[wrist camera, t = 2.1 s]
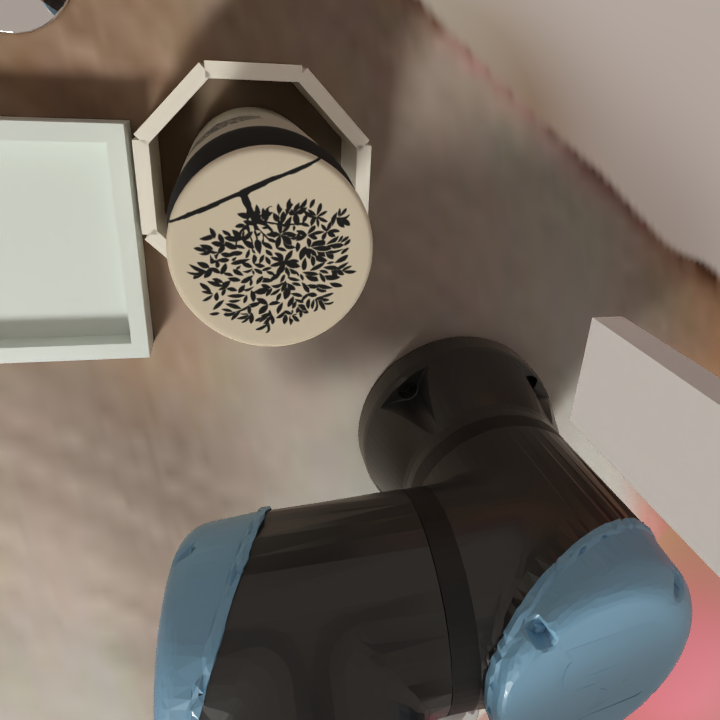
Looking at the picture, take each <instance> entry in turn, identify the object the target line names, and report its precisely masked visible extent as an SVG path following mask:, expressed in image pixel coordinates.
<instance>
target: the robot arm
mask: <svg viewBox="0 0 720 720" xmlns="http://www.w3.org/2000/svg"><path fill="white" fill-rule="evenodd" d="M570 423H571V424H572V425H573V426H574V427H575V428H576V429H577V430H578V431H579V432H580V433H581V434H582V435H583V436H584V437H585V438H586V439H587V440H588V441H589V442H590V443H591V444H592V445H593V446H594V447H595V449H596V450H597V451H598V452H599V453H600V454H601V455H602V456H603V457H604V458H605V459H606V460H607V461H608V462H609V463H610V464H611V465H612V466H613V467H614V468H615V469H616V470H617V471H618V472H619V473H620V474H621V476H622V477H623V478H624V479H625V480H626V481H627V482H628V483H629V484H630V485H631V486H632V487H633V488H634V489H635V490H636V491H637V492H638V493H639V494H640V495H641V496H642V497H643V498H644V499H645V500H646V502H647V503H648V504H649V505H650V506H651V507H652V508H653V509H654V510H655V511H656V512H657V513H658V514H659V515H660V516H661V517H662V518H663V519H664V520H665V521H666V522H667V523H668V524H669V525H670V526H671V528H672V529H673V530H675V532H676V533H677V534H678V535H679V536H680V537H681V538H682V539H683V540H684V541H685V542H686V543H687V544H688V545H689V546H690V547H691V548H692V549H693V550H694V551H695V552H696V553H697V554H698V556H699V557H700V558H701V559H702V560H703V561H704V562H705V563H706V564H707V565H708V566H709V567H710V568H711V569H712V570H713V571H714V572H715V573H716V574H717V575H718V576H719V577H720V378H719V377H717V376H716V375H714V374H713V373H711V372H709V371H708V370H706V369H705V368H703V367H702V366H700V365H698V364H697V363H695V362H694V361H692V360H691V359H689V358H687V357H686V356H684V355H683V354H681V353H680V352H678V351H676V350H675V349H673V348H672V347H670V346H669V345H667V344H665V343H664V342H662V341H661V340H659V339H658V338H656V337H654V336H653V335H651V334H650V333H648V332H647V331H645V330H643V329H642V328H640V327H639V326H637V325H636V324H634V323H632V322H631V321H629V320H628V319H626V318H625V317H623V316H616V317H592V321H591V326H590V330H589V335H588V339H587V344H586V349H585V353H584V358H583V362H582V367H581V371H580V376H579V380H578V385H577V389H576V394H575V399H574V403H573V408H572V412H571V417H570ZM358 437H359V446H360V450H361V454H362V457H363V460H364V463H365V465H366V468H367V471H368V473H369V475H370V477H371V479H372V481H373V483H374V484H375V486H376V487H377V488H378V490H379V491H380V492H379V493H373V494H367V495H362V496H356V497H350V498H344V499H338V500H332V501H326V502H320V503H314V504H307V505H301V506H294V507H288V508H281V509H274V510H272V509H271V507H270V506H267V507H262V508H260V509H259V510H258V511H257V512H254V513H249V514H245V515H240V516H235V517H231V518H226V519H221V520H217V521H212V522H209V523H206V524H203V525H201V526H199V527H197V528H196V529H194V530H193V531H192V532H191V533H190V534H189V535H188V536H187V537H186V538H185V539H184V541H183V542H182V544H181V545H180V547H179V549H178V551H177V553H176V555H175V557H174V560H173V563H172V566H171V569H170V572H169V576H168V580H167V584H166V588H165V593H164V598H163V603H162V609H161V616H160V622H159V630H158V639H157V648H156V660H155V677H154V720H437V719H440V718H444V717H447V716H451V715H455V714H460V713H464V712H469V711H474V710H479V709H486V712H487V714H488V717H489V719H490V720H623V719H625V718H626V717H627V716H629V715H630V714H631V713H632V712H634V711H635V710H636V709H637V708H639V707H640V706H641V705H642V704H643V703H644V702H645V701H646V700H647V699H648V698H649V697H650V696H651V694H653V693H654V692H655V691H656V690H657V689H658V688H659V687H660V685H661V684H662V683H663V682H664V681H665V679H666V678H667V677H668V675H669V674H670V673H671V671H672V670H673V668H674V666H675V665H676V663H677V662H678V660H679V658H680V656H681V654H682V652H683V649H684V647H685V645H686V642H687V639H688V636H689V633H690V629H691V622H692V603H691V597H690V592H689V589H688V586H687V584H686V581H685V580H684V578H683V576H682V574H681V573H680V571H679V570H678V569H677V568H676V566H675V565H674V564H673V562H672V561H671V560H670V559H669V557H668V556H667V555H666V554H665V552H664V551H663V550H662V548H661V547H660V546H659V544H658V543H657V542H656V539H655V536H654V534H653V533H652V531H651V529H650V528H649V527H648V526H646V525H645V524H644V522H641V521H640V520H639V519H638V518H637V517H636V516H635V515H634V514H633V513H632V512H631V510H630V509H629V508H628V507H627V506H626V505H625V504H624V503H623V502H622V501H621V500H620V499H619V498H618V497H617V496H616V494H615V493H614V492H613V491H612V490H611V489H610V488H609V487H608V486H607V485H606V484H605V483H604V482H603V481H602V480H601V479H600V477H599V476H598V475H597V474H596V473H595V472H594V471H593V470H592V469H591V468H590V467H589V466H588V465H587V464H586V463H585V461H584V460H583V459H582V458H581V457H580V456H579V455H578V454H577V453H576V452H575V451H574V450H573V449H572V448H571V447H570V445H569V444H568V443H567V442H566V441H565V440H564V439H563V438H562V437H561V436H560V435H559V431H558V428H557V424H556V421H555V418H554V414H553V411H552V407H551V404H550V400H549V397H548V394H547V391H546V389H545V387H544V385H543V384H542V382H541V380H540V379H539V377H538V376H537V374H536V373H535V372H534V371H533V370H532V369H531V368H530V367H529V366H528V365H527V364H526V363H525V362H524V361H523V360H522V359H521V358H520V357H519V356H518V355H517V354H516V353H514V352H513V351H512V350H510V349H509V348H507V347H505V346H503V345H501V344H499V343H496V342H494V341H490V340H487V339H482V338H475V337H456V338H449V339H444V340H439V341H436V342H433V343H430V344H427V345H425V346H422V347H420V348H418V349H416V350H414V351H412V352H410V353H409V354H407V355H405V356H404V357H403V358H401V359H400V360H398V361H397V362H396V363H395V364H393V365H392V366H391V367H390V368H389V369H388V370H387V371H386V372H385V373H384V374H383V375H382V376H381V378H380V379H379V380H378V381H377V383H376V384H375V385H374V387H373V388H372V390H371V392H370V393H369V395H368V397H367V399H366V402H365V404H364V406H363V409H362V412H361V416H360V421H359V430H358Z"/></svg>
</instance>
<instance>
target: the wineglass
mask: <svg viewBox="0 0 720 720" xmlns="http://www.w3.org/2000/svg"><path fill="white" fill-rule="evenodd" d="M68 2H69V0H0V33H1V34H16V35H19V34H25V33H31V32H34V31H37V30H39V29H42V28H44V27H46V26H47V25H49V24H50V23H51V22H53V21H54V20H56V19H57V18H58V16H59V15H60V14H61V13H62V12H63V10H64V9H65V8H66V6H67V4H68Z"/></svg>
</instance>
